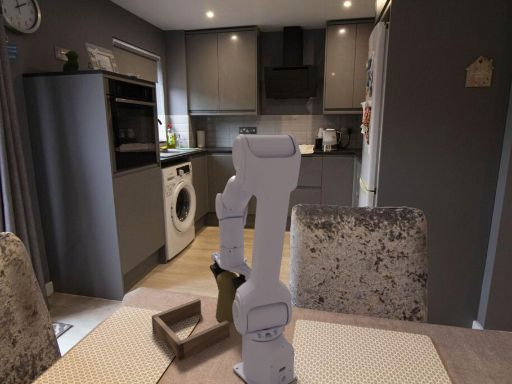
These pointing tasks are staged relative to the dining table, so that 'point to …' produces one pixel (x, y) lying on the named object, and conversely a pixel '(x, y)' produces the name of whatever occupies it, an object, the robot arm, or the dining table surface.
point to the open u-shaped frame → (193, 342)
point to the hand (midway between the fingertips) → (232, 297)
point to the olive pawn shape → (225, 296)
